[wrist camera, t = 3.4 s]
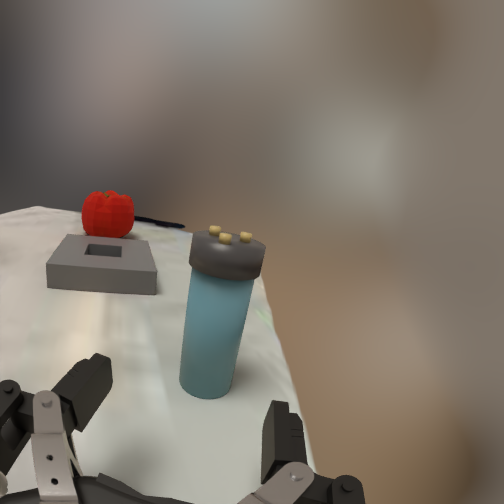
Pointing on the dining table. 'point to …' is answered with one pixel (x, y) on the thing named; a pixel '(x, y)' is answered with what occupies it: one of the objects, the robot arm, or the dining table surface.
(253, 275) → the plug
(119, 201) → the tomato
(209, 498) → the dining table surface
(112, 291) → the socket block
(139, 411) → the dining table surface
